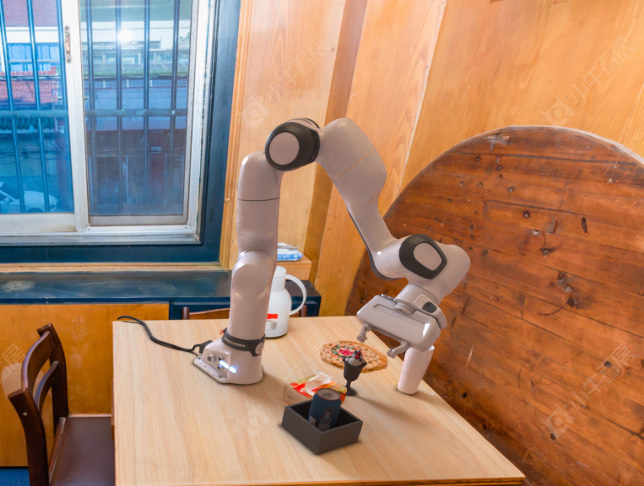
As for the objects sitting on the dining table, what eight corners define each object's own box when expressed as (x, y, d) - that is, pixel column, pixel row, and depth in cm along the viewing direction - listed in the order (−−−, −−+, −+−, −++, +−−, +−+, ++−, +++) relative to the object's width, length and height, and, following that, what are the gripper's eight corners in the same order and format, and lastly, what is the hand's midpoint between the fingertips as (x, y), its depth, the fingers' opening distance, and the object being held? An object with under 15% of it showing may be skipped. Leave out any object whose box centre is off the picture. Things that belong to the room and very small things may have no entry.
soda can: (319, 422, 137) (329, 384, 131) (338, 437, 132) (349, 397, 126) (299, 428, 135) (308, 389, 128) (317, 443, 129) (327, 403, 123)
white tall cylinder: (421, 397, 150) (438, 351, 142) (397, 394, 151) (412, 349, 144) (415, 386, 156) (431, 341, 148) (391, 383, 157) (406, 339, 149)
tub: (280, 425, 136) (284, 406, 133) (320, 414, 141) (324, 395, 138) (316, 454, 125) (321, 434, 122) (357, 441, 130) (363, 421, 127)
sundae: (347, 399, 148) (360, 353, 141) (330, 388, 154) (341, 343, 146) (363, 394, 151) (376, 348, 143) (345, 383, 156) (357, 339, 149)
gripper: (375, 284, 131) (338, 325, 132) (447, 312, 115) (404, 358, 116) (383, 298, 135) (347, 338, 136) (453, 327, 119) (412, 372, 120)
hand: (374, 348), depth 126 cm, fingers open, 8 cm apart
